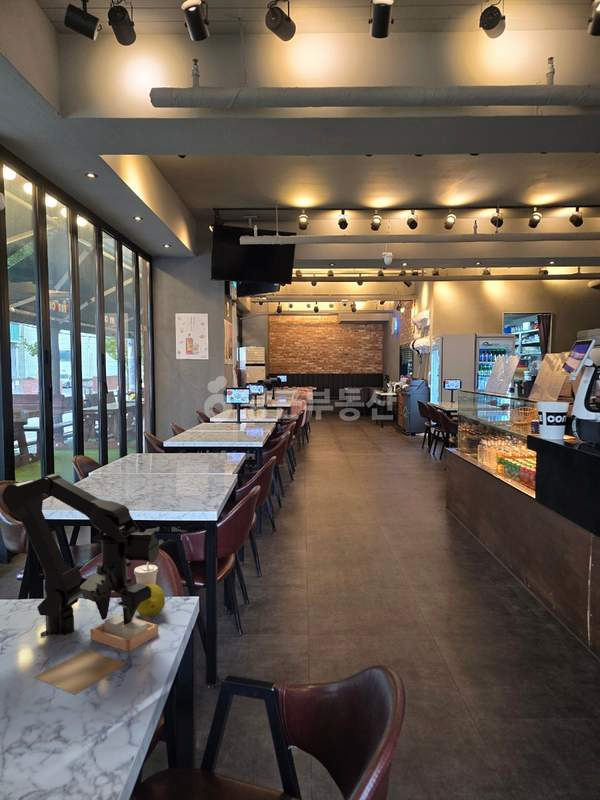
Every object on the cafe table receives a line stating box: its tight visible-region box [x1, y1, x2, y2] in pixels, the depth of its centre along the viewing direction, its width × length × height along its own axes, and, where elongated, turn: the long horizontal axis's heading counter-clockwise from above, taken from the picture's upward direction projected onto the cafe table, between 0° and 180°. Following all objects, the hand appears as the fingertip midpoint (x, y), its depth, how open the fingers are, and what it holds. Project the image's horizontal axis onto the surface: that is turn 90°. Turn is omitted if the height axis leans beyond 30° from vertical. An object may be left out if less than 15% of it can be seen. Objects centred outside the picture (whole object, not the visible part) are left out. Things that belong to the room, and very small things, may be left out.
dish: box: [89, 613, 159, 652], centre depth 129 cm, size 12×9×3 cm
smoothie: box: [133, 562, 159, 585], centre depth 150 cm, size 6×6×14 cm
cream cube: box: [121, 620, 147, 640], centre depth 127 cm, size 4×4×4 cm
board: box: [33, 649, 128, 696], centre depth 114 cm, size 13×13×1 cm
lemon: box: [136, 584, 166, 618], centre depth 142 cm, size 11×8×8 cm
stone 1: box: [103, 614, 124, 638], centre depth 130 cm, size 4×4×4 cm
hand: (115, 622), depth 130 cm, fingers open, 7 cm apart
